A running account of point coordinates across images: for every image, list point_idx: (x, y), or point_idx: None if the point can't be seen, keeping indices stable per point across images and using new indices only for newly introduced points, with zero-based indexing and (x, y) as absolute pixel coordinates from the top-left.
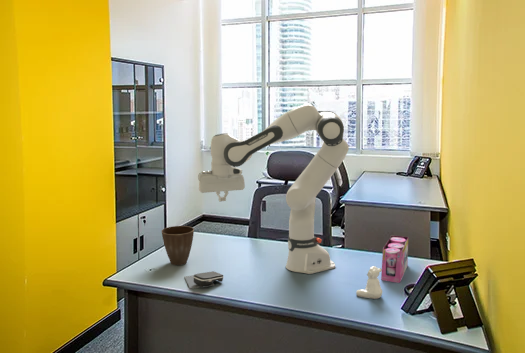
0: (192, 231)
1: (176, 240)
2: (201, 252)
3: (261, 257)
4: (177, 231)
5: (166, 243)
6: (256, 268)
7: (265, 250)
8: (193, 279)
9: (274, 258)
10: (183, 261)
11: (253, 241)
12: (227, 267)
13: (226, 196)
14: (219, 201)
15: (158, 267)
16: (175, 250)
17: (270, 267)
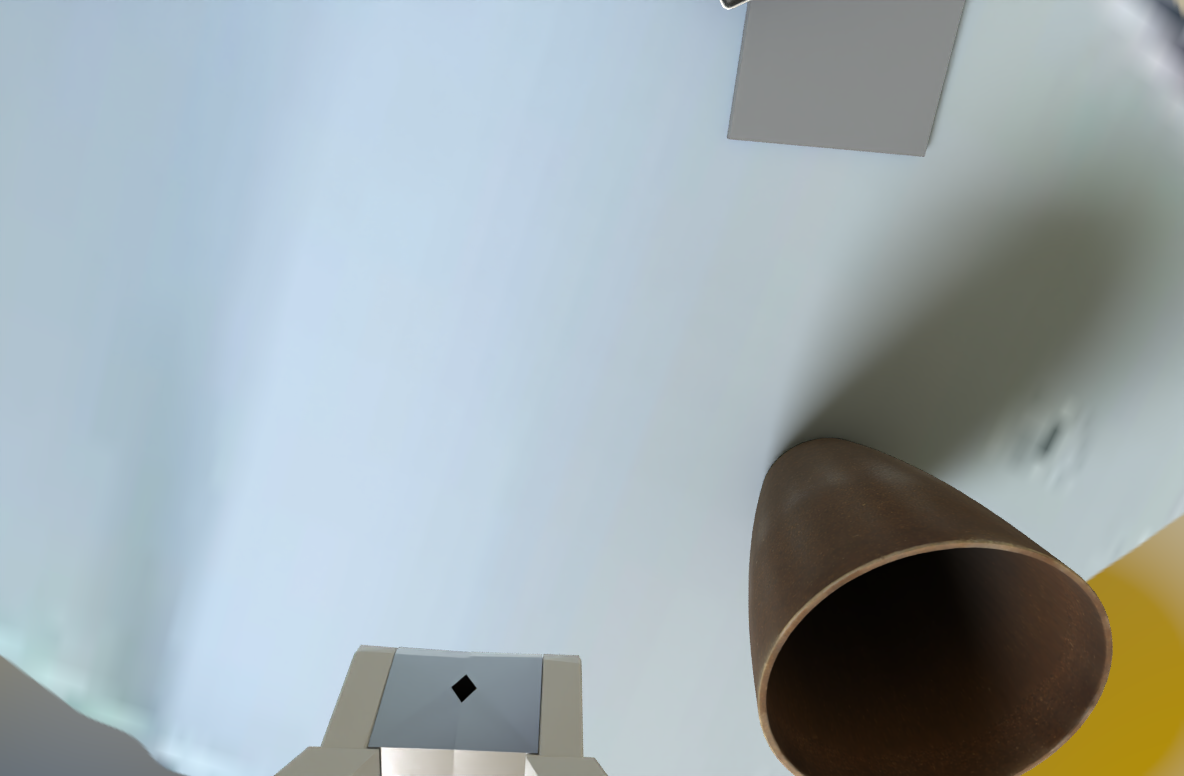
0: (813, 596)
1: (988, 515)
2: (594, 616)
3: (157, 327)
4: (856, 750)
5: (1028, 560)
6: (269, 78)
7: (86, 468)
8: (891, 45)
9: (41, 252)
10: (817, 444)
11: (144, 683)
12: (512, 226)
13: (286, 768)
14: (578, 665)
15: (985, 458)
16: (937, 479)
17: (128, 38)
